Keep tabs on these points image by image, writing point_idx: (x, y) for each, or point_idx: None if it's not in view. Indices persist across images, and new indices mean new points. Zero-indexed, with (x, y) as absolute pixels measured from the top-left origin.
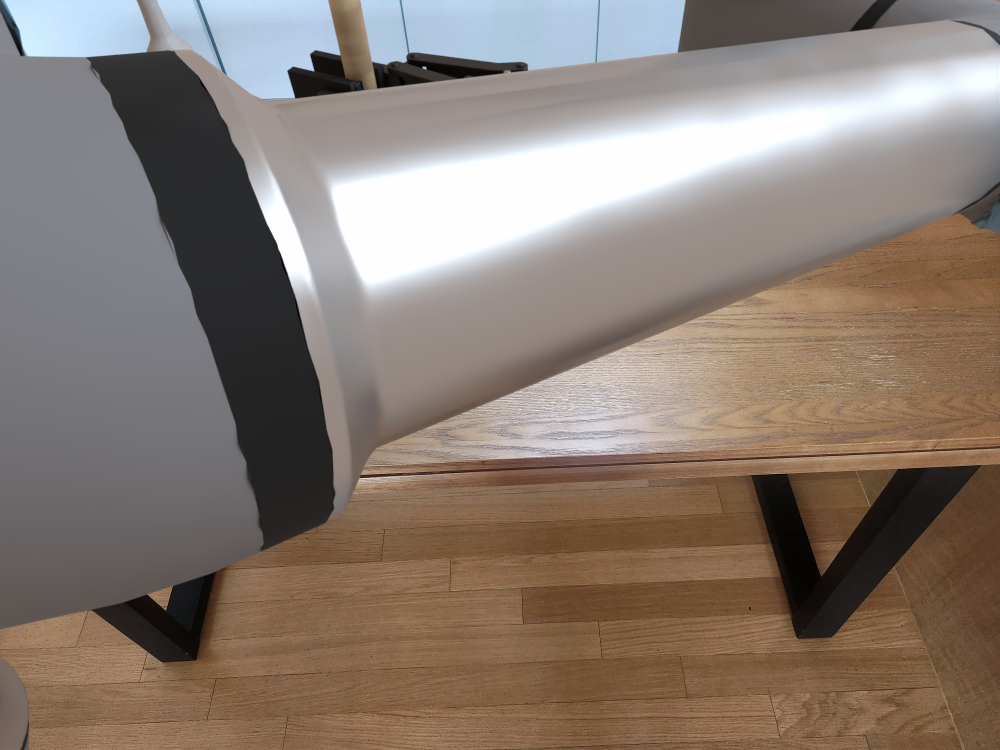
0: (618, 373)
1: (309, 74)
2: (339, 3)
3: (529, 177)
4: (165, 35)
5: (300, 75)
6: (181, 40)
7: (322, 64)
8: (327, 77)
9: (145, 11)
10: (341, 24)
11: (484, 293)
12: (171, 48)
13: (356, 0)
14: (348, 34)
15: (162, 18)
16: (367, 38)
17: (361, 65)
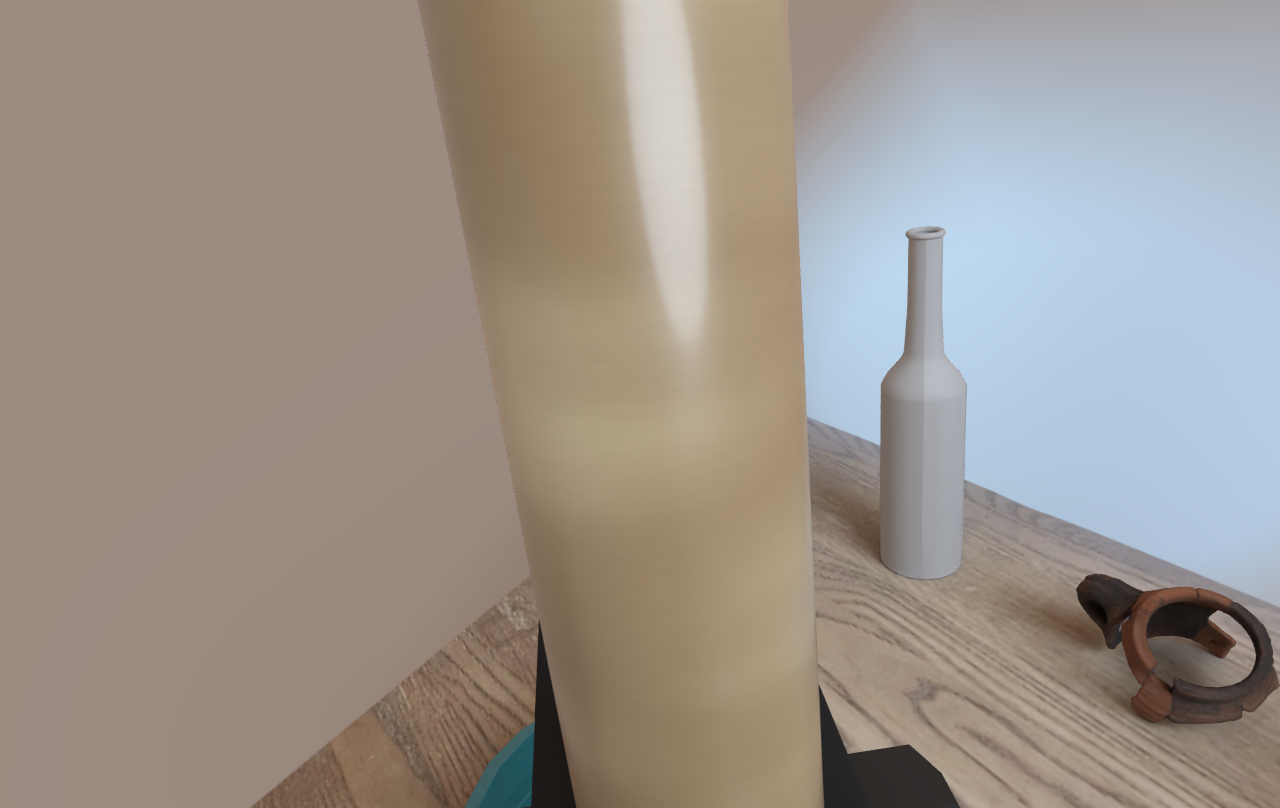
0: None
1: (550, 683)
2: (507, 424)
3: None
4: (925, 356)
5: (537, 657)
6: (952, 371)
7: None
8: (561, 773)
9: (911, 311)
10: (532, 583)
11: None
12: (923, 378)
13: (668, 459)
14: (562, 681)
15: (934, 329)
16: (782, 776)
17: None
